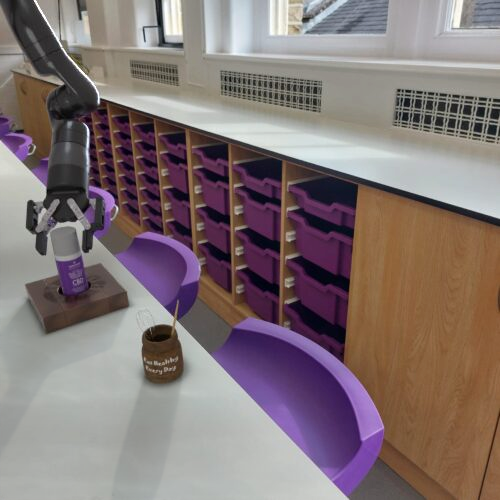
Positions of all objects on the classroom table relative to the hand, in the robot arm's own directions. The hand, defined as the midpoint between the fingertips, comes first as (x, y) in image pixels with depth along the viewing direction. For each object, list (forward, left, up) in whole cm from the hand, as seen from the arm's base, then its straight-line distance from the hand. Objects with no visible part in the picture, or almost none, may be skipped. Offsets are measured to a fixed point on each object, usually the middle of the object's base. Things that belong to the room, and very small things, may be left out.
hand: (63, 252), depth 87 cm
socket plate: (+1, +1, -11) cm, 12 cm away
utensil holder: (+6, -28, -12) cm, 31 cm away
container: (+1, +1, -12) cm, 12 cm away
